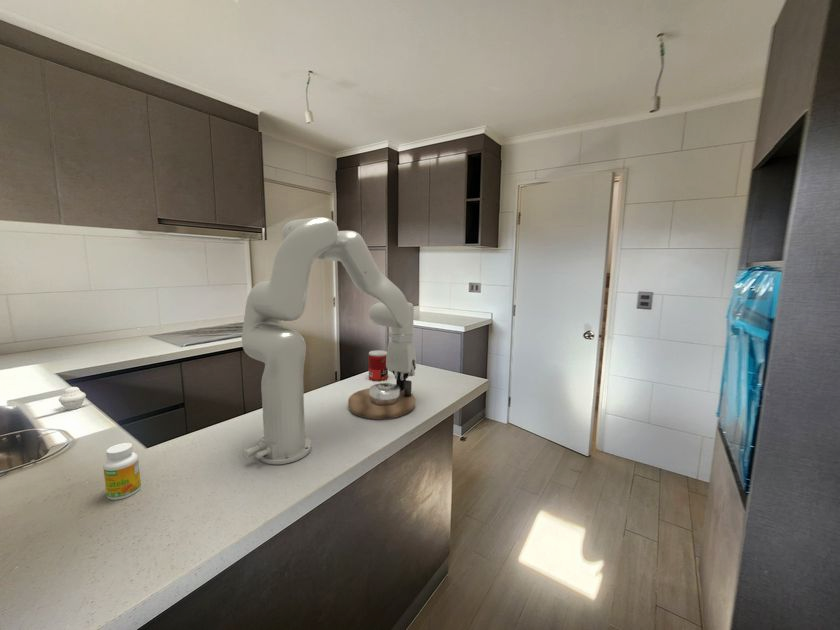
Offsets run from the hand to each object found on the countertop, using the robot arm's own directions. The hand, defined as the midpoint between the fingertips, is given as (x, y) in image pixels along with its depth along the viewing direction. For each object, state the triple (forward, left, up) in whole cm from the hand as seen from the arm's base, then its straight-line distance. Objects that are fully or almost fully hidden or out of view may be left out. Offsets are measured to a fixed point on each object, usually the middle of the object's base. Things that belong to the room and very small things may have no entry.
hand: (400, 389), depth 122 cm
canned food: (+12, +21, -4) cm, 25 cm away
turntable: (-8, +1, -4) cm, 9 cm away
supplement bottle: (-73, +13, -4) cm, 75 cm away
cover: (-8, 0, -1) cm, 9 cm away
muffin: (-70, +77, -4) cm, 104 cm away
